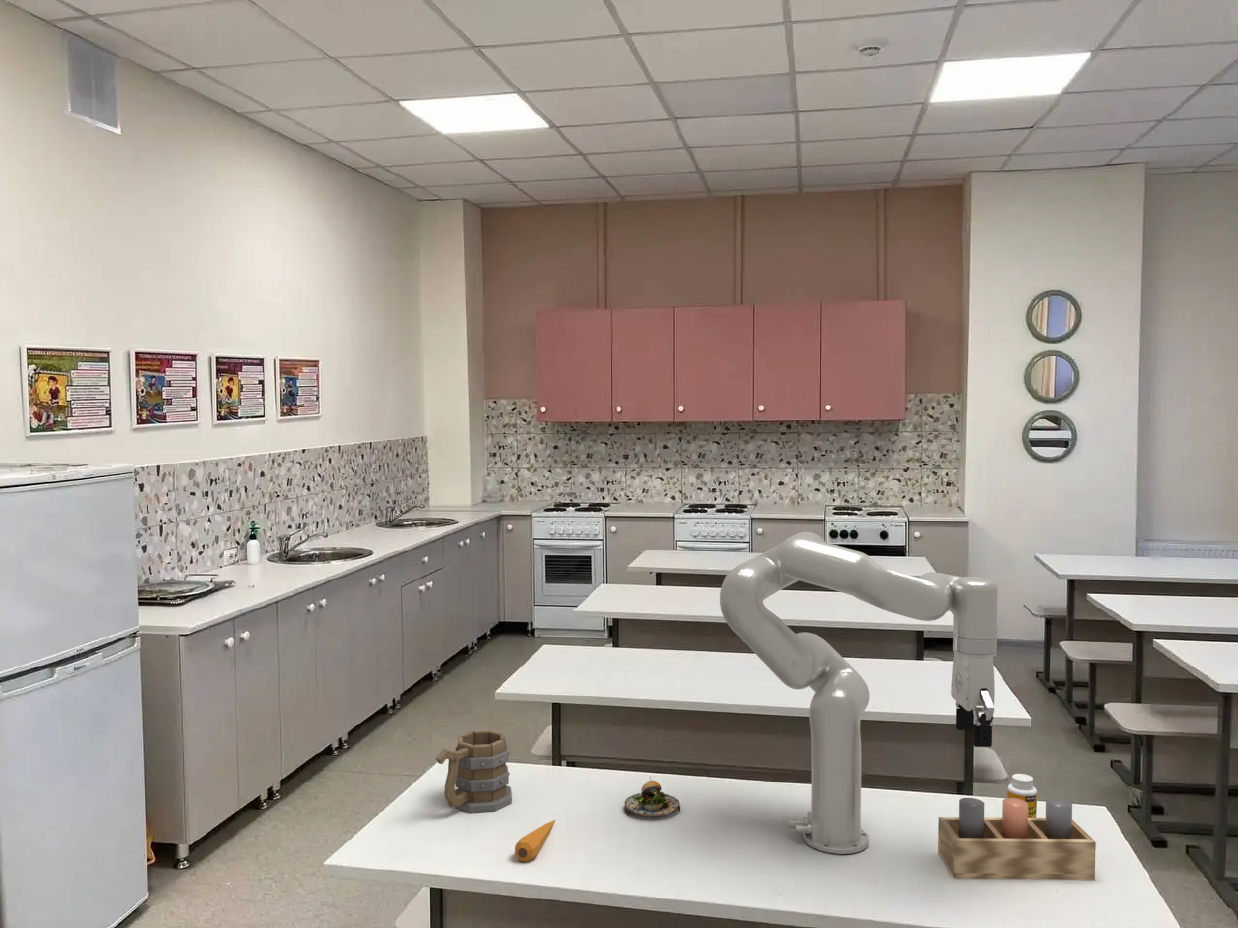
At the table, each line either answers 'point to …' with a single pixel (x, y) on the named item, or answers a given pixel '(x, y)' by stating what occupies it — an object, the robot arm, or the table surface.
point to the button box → (1016, 853)
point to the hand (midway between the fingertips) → (973, 737)
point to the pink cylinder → (1014, 819)
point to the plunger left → (971, 818)
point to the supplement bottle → (1024, 792)
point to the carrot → (532, 842)
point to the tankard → (478, 772)
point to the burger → (651, 801)
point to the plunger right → (1058, 819)
